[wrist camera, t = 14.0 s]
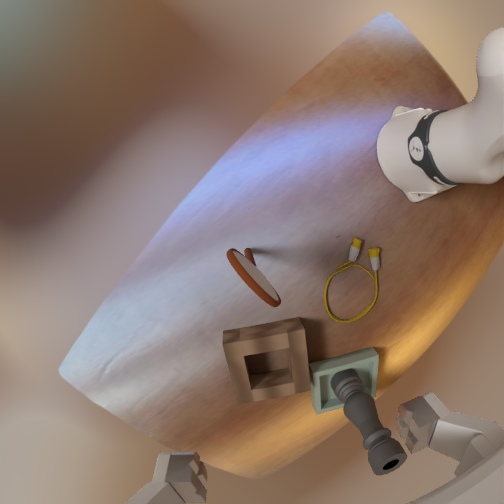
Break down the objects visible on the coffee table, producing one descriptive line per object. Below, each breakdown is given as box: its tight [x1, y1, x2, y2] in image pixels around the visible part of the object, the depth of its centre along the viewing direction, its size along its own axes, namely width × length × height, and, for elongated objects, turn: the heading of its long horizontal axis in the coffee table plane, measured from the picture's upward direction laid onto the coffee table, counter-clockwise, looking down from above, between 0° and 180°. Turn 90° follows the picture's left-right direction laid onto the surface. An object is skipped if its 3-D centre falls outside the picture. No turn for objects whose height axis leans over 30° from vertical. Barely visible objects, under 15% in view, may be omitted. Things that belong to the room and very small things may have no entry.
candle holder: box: [330, 368, 407, 475], centre depth 43 cm, size 6×6×25 cm
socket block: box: [223, 317, 311, 404], centre depth 51 cm, size 14×14×5 cm
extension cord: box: [324, 238, 380, 323], centre depth 51 cm, size 12×16×2 cm
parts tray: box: [309, 347, 379, 414], centre depth 54 cm, size 14×12×4 cm
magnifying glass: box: [227, 248, 281, 307], centre depth 39 cm, size 9×2×20 cm, turn 42°
